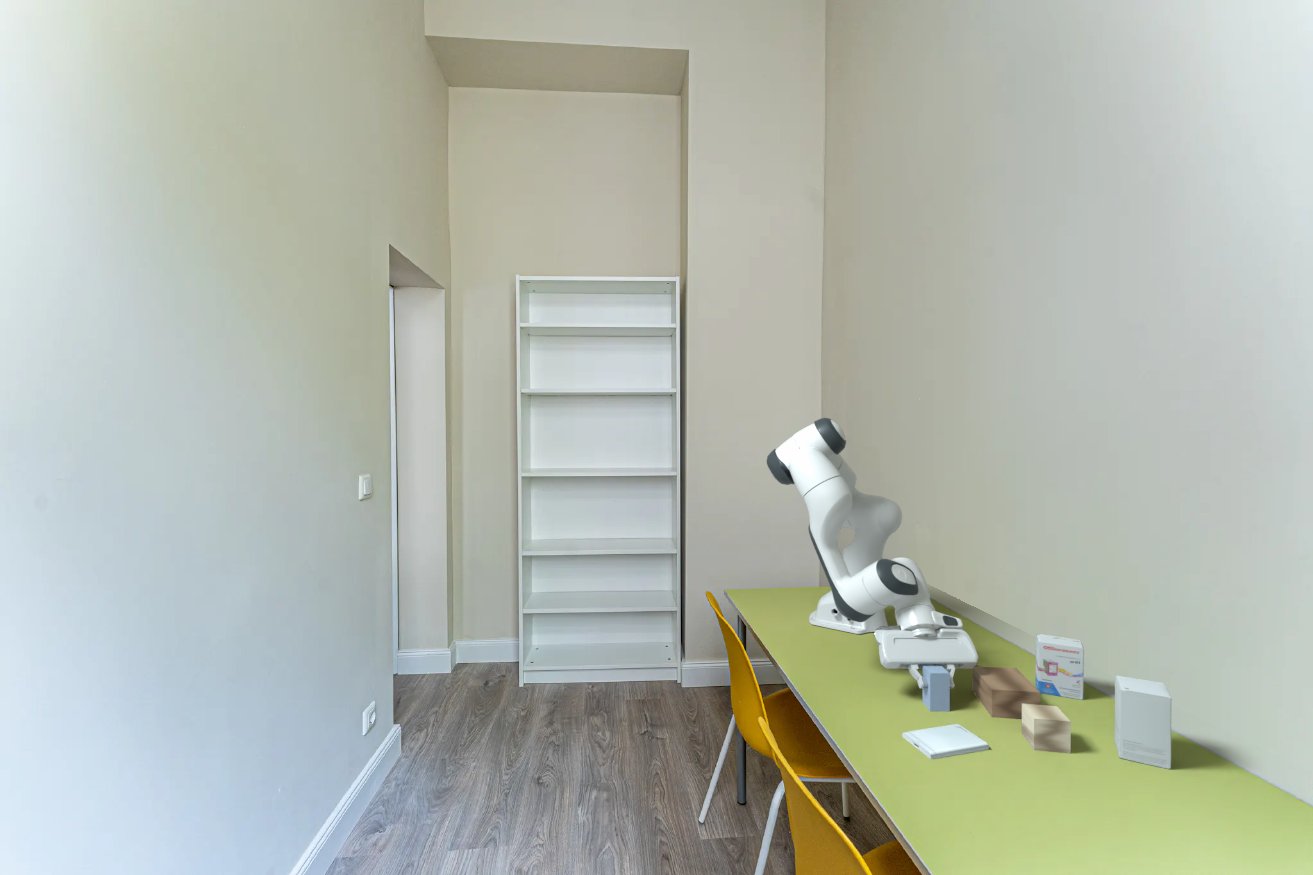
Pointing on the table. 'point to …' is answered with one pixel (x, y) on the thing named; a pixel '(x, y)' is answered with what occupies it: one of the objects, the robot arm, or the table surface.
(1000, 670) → the walnut block
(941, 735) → the hard drive
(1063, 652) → the ink box
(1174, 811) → the table surface
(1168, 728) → the supplement box
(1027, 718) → the maple cube
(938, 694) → the slate post
